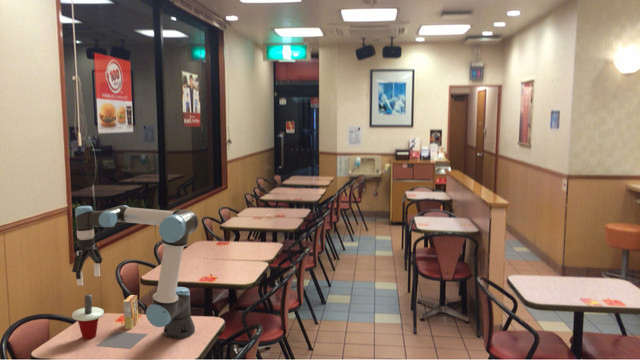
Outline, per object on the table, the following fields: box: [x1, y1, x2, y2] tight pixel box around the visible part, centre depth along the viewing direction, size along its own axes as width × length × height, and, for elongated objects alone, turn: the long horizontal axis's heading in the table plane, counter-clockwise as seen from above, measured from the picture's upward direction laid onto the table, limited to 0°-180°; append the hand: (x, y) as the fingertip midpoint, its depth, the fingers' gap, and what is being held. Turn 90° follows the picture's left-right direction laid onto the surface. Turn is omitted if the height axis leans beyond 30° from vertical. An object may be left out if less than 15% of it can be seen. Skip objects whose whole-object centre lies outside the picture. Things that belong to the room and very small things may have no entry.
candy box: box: [123, 294, 139, 330], centre depth 256 cm, size 9×4×15 cm, turn 179°
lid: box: [71, 293, 105, 321], centre depth 241 cm, size 14×14×10 cm
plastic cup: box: [77, 318, 100, 340], centre depth 243 cm, size 11×11×12 cm
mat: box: [95, 331, 149, 350], centre depth 240 cm, size 18×16×1 cm
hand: (89, 280), depth 241 cm, fingers open, 13 cm apart
